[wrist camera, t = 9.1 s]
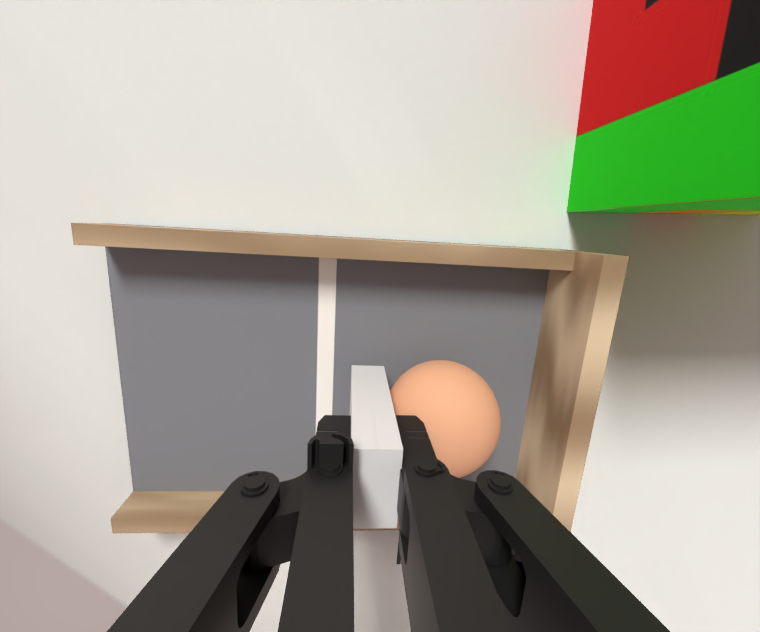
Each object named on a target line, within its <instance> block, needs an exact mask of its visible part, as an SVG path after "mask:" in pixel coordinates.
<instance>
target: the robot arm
mask: <svg viewBox="0 0 760 632" xmlns="http://www.w3.org/2000/svg"><path fill="white" fill-rule="evenodd" d="M397 519H398V520H399V526H400V530H399V542H398V554H397V564H400V563H401V564H402V571H403V578H404V584H405V591H406V598H407V605H408V612H409V619H410V626H411V632H670V631H669V630H668V629H667V628H666V627H665V626H664V625H663V624H662V623H661V622H660V621H659V620H658V619H657V618H656V617H655V616H654V615H653V614H652V613H651V612H650V611H649V610H648V609H647V608H646V607H645V606H644V605H643V604H642V603H641V602H640V601H639V600H638V599H637V598H636V597H635V596H634V595H633V594H632V593H631V592H630V591H629V590H628V589H627V588H626V587H625V586H624V585H623V584H622V583H621V582H620V581H619V580H618V579H617V578H616V577H615V576H614V575H613V574H612V573H611V572H610V571H609V570H608V569H607V568H606V567H605V566H604V565H603V564H602V563H601V562H600V561H599V560H598V559H597V558H596V557H595V556H594V555H593V554H592V553H591V552H590V551H589V550H588V549H587V548H586V547H585V546H584V545H583V544H582V543H581V542H580V541H579V540H578V539H577V538H576V537H575V536H574V535H573V534H572V533H571V532H570V531H569V530H568V529H567V528H566V527H565V526H564V525H563V524H562V523H561V522H560V521H559V520H558V519H557V518H556V517H555V516H554V515H553V514H552V513H551V512H550V511H549V510H548V509H547V508H546V507H545V506H544V505H543V504H542V503H541V502H540V501H539V500H538V499H537V498H536V497H535V496H533V495H532V494H531V493H530V492H529V491H528V490H527V489H526V488H525V487H524V486H523V485H522V484H521V483H520V482H519V481H518V480H517V479H516V478H514V477H513V476H511V475H509V474H507V473H504V472H501V471H496V470H486V471H484V472H481V473H480V474H479V475H478V476H477V478H476V482H474V481H469V480H465V479H461V478H458V477H455V476H453V475H451V474H450V472H449V470H448V468H447V467H446V465H445V464H444V463H443V462H441V461H440V460H438V459H437V457H436V455H435V452H434V449H433V447H432V444H431V441H430V438H429V436H428V433H427V430H426V428H425V425H424V422H423V421H421V420H420V419H419V418H418V417H417V416H416V415H395V412H394V407H393V403H392V399H391V394H390V390H389V386H388V381H387V377H386V373H385V368H384V366H364V365H352V369H351V392H350V415H324V416H323V417H322V419H321V420H320V421H319V422H318V426H317V432H316V435H315V436H314V437H312V438H311V439H310V440H309V442H308V446H307V471H306V472H305V473H303V474H302V475H300V476H298V477H296V478H294V479H291V480H287V481H283V482H279V478H278V477H277V476H276V475H274V474H273V473H270V472H267V471H254V472H249V473H246V474H244V475H242V476H240V477H238V478H237V479H236V480H234V481H233V482H232V483H231V484H230V485H229V487H228V488H227V489H226V490H225V491H224V493H223V494H222V495H221V496H220V497H219V499H218V500H217V501H216V502H215V503H214V505H213V506H212V507H211V508H210V509H209V511H208V512H207V513H206V514H205V515H204V516H203V518H202V519H201V520H200V521H199V522H198V524H197V525H196V526H195V527H194V528H193V530H192V531H191V532H190V533H189V534H188V536H187V537H186V538H185V539H184V540H183V542H182V543H181V544H180V545H179V546H178V548H177V549H176V550H175V551H174V552H173V553H172V555H171V556H170V557H169V558H168V559H167V561H166V562H165V563H164V564H163V565H162V567H161V568H160V569H159V570H158V571H157V573H156V574H155V575H154V576H153V577H152V579H151V580H150V581H149V582H148V583H147V585H146V586H145V587H144V588H143V589H142V590H141V592H140V593H139V594H138V595H137V596H136V598H135V599H134V600H133V601H132V602H131V604H130V605H129V606H128V607H127V608H126V610H125V611H124V612H123V613H122V614H121V616H120V617H119V618H118V619H117V620H116V622H115V623H114V624H113V625H112V626H111V628H110V629H109V630H108V631H107V632H249V631H250V629H251V627H252V625H253V623H254V621H255V619H256V617H257V615H258V613H259V611H260V609H261V606H262V604H263V602H264V600H265V598H266V596H267V594H268V592H269V590H270V588H271V586H272V584H273V582H274V579H275V577H276V575H277V573H278V571H279V567H280V564H282V563H285V562H288V561H290V567H289V572H288V578H287V584H286V589H285V595H284V600H283V606H282V611H281V617H280V622H279V628H278V632H354V560H353V529H374V528H397Z"/></svg>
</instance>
